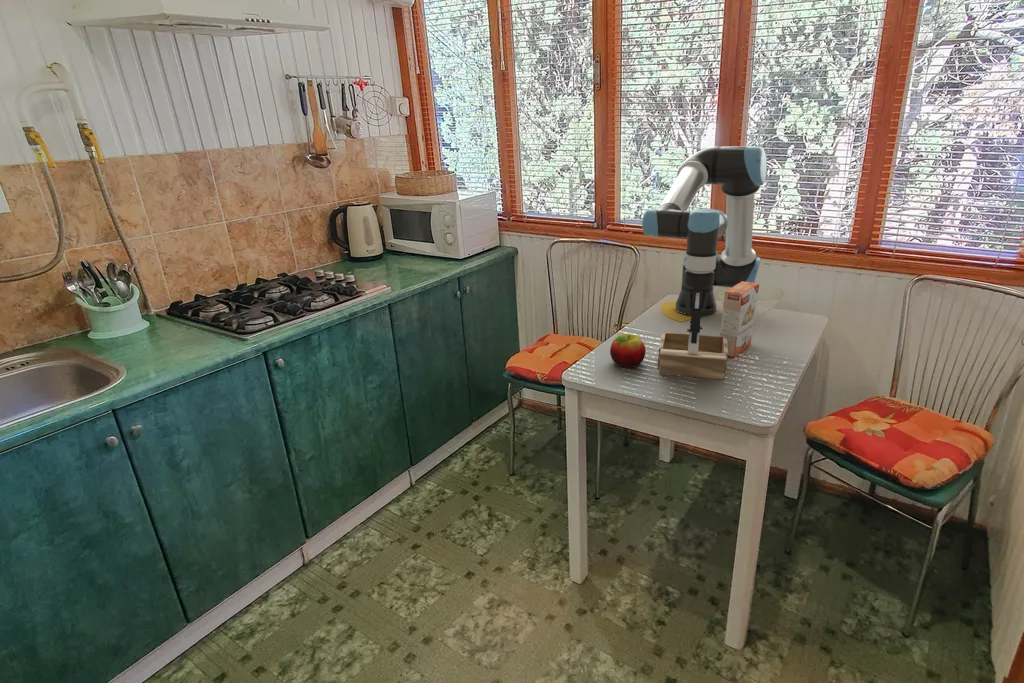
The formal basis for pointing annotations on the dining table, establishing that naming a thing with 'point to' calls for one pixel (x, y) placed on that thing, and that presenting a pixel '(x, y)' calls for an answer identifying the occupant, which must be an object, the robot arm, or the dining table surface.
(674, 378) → the dining table surface
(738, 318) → the cracker box
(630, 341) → the fruit
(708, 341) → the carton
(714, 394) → the dining table surface
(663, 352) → the flap
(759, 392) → the dining table surface
